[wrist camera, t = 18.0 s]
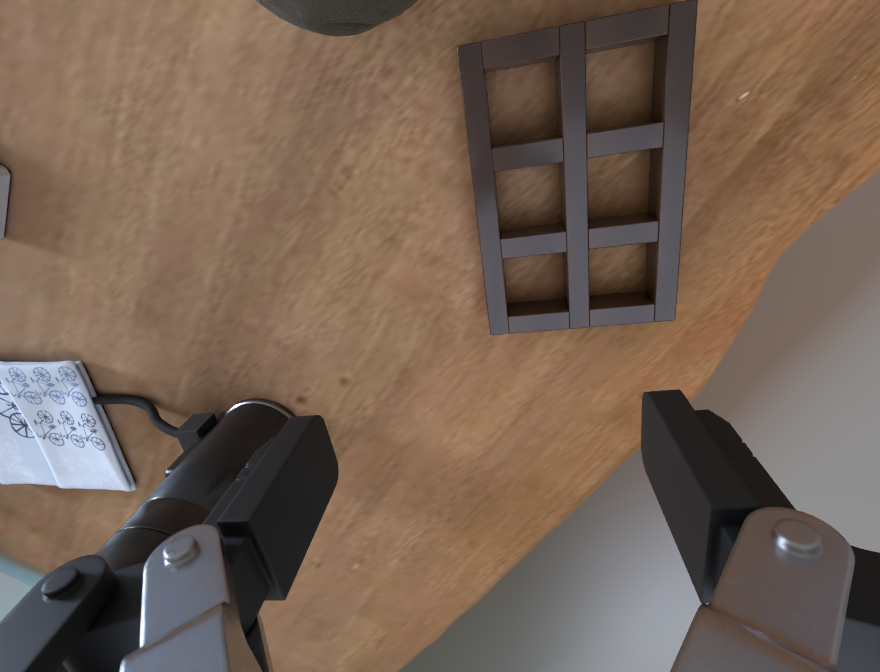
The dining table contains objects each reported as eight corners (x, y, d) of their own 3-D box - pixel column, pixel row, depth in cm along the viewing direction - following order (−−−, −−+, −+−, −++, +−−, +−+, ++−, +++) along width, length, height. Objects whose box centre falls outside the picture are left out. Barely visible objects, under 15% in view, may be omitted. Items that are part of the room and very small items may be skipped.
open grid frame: (491, 321, 42) (490, 335, 39) (460, 51, 33) (457, 46, 30) (663, 306, 39) (675, 320, 36) (681, 8, 30) (698, -3, 27)
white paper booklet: (142, 486, 58) (130, 499, 56) (7, 477, 61) (-9, 489, 59) (85, 355, 50) (68, 364, 48) (-68, 351, 53) (-90, 360, 51)
